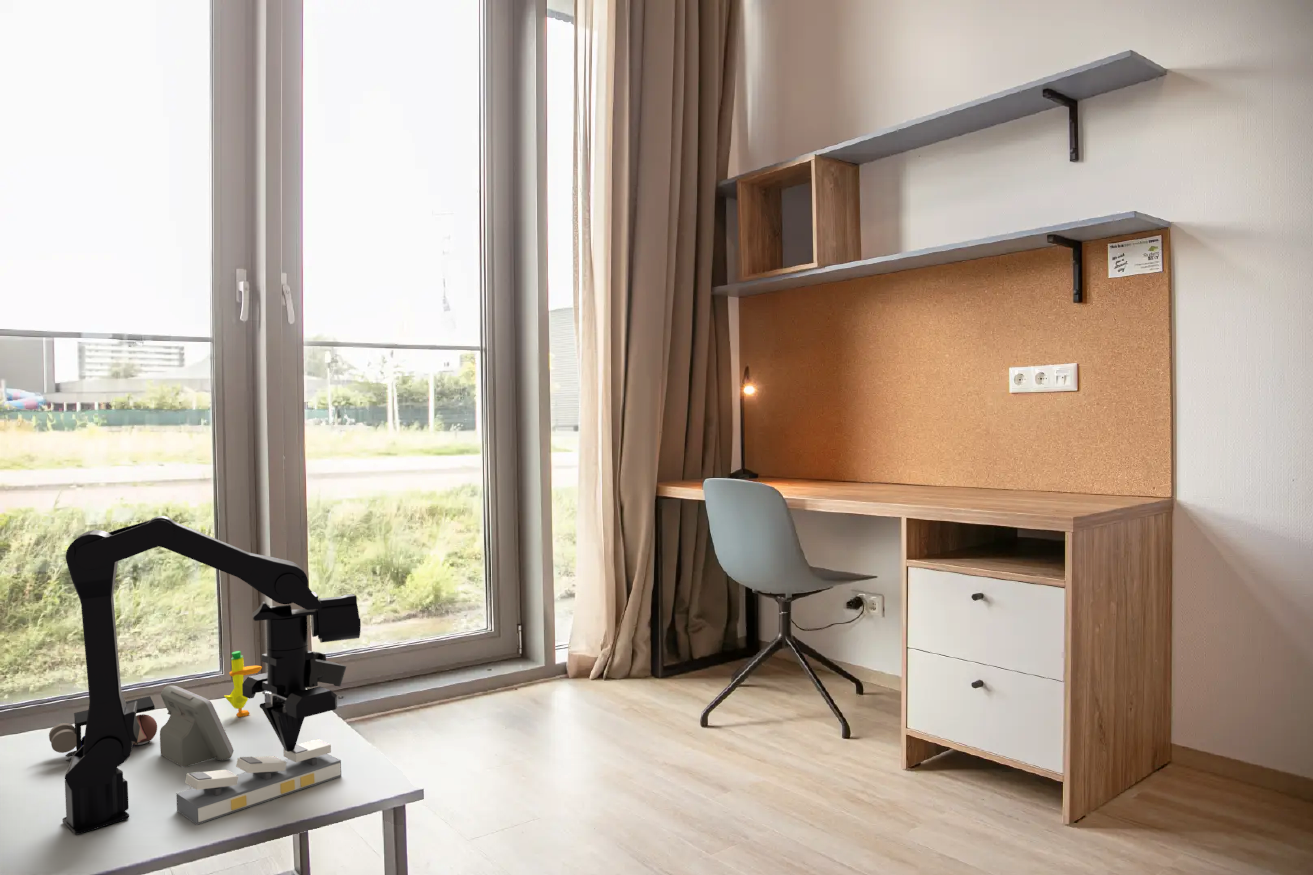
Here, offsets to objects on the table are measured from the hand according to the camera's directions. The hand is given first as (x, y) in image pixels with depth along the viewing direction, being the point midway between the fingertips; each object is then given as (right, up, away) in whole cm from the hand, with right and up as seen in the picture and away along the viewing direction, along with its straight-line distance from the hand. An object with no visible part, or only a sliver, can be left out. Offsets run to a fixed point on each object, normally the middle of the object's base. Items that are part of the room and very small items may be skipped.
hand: (289, 750), depth 135 cm
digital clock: (-21, -6, +14) cm, 26 cm away
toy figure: (-22, -5, +33) cm, 41 cm away
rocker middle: (-3, -1, -3) cm, 4 cm away
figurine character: (-38, -6, +16) cm, 42 cm away
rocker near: (-8, -1, -8) cm, 11 cm away
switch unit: (-3, -5, -3) cm, 7 cm away
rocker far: (+2, -1, +2) cm, 3 cm away
